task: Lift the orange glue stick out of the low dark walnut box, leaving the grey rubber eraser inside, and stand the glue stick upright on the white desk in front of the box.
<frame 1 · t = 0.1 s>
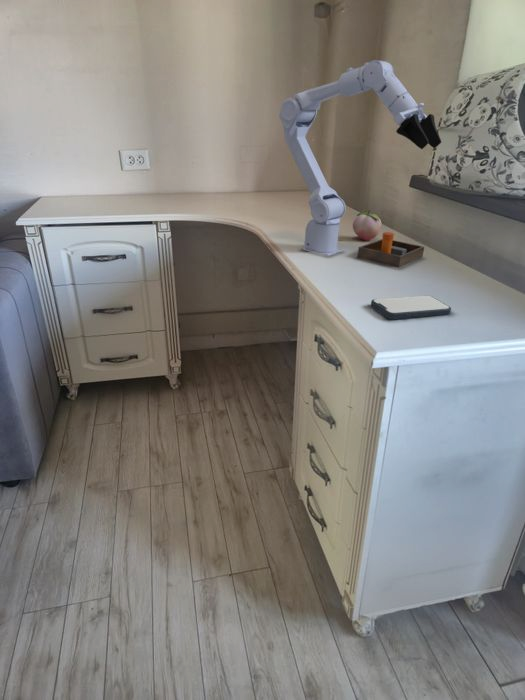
hand: (431, 145, 118), 32 cm above the table, tool tilted 50°, fingers open, 7 cm apart
decorative fruit: (365, 241, 162), on the table
phone case: (409, 310, 109), on the table
eraser: (395, 254, 146), resting on box
box: (390, 258, 144), on the table
glue stick: (384, 259, 142), resting on box
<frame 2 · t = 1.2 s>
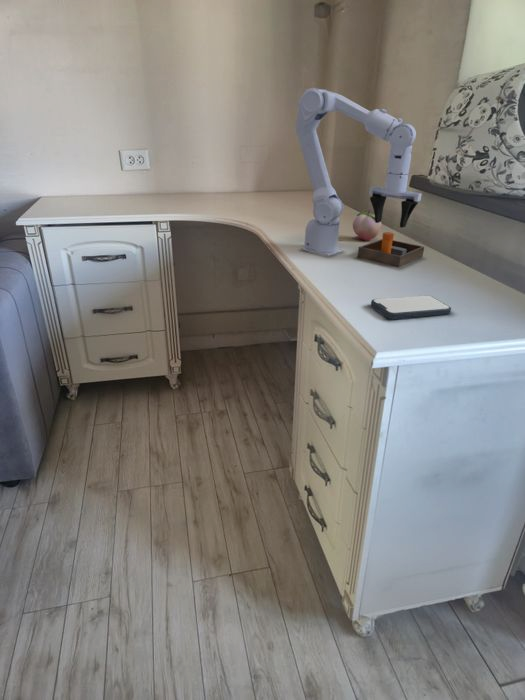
hand: (390, 224, 137), 10 cm above the table, tool pointing down, fingers open, 7 cm apart
nothing on the table moved.
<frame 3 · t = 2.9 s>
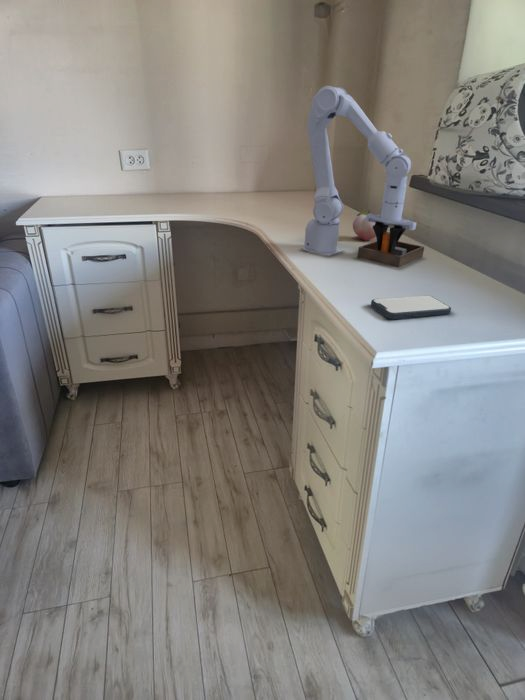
hand: (385, 250, 140), 3 cm above the table, tool pointing down, fingers closed on glue stick, 3 cm apart
glue stick: (384, 259, 142), resting on box, touching gripper
everything else where it was.
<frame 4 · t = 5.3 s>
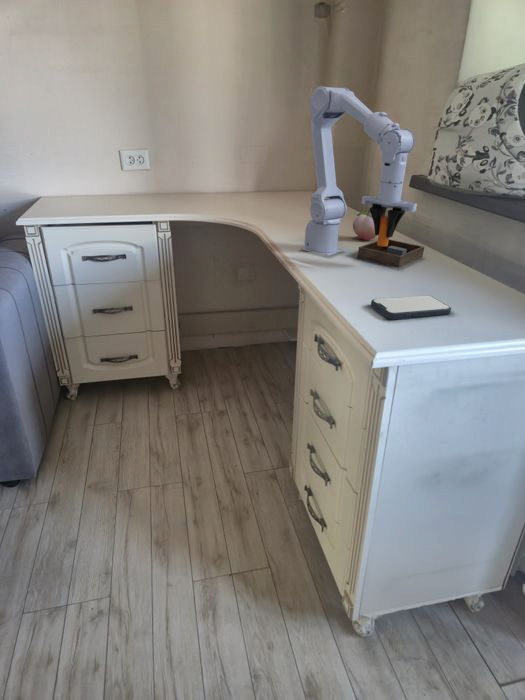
hand: (383, 235, 129), 9 cm above the table, tool pointing down, fingers closed on glue stick, 3 cm apart
glue stick: (382, 245, 131), point 7 cm above the table, touching gripper
everything else where it was.
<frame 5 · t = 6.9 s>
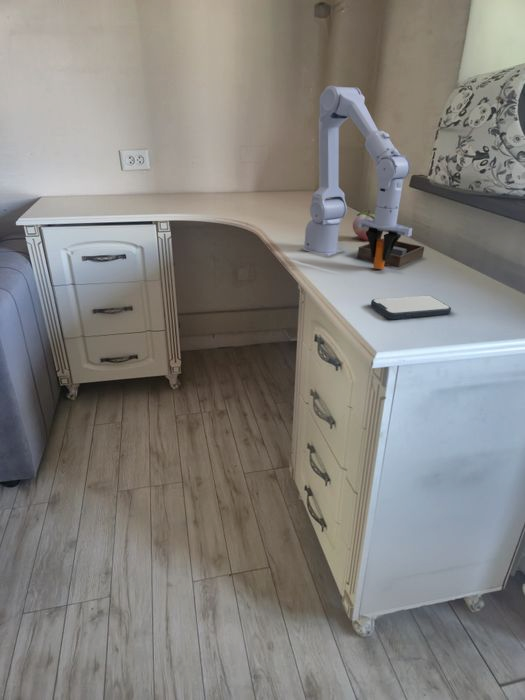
hand: (379, 258, 131), 4 cm above the table, tool pointing down, fingers closed on glue stick, 3 cm apart
glue stick: (378, 267, 133), point 1 cm above the table, touching gripper
everything else where it was.
when the fingers open (2 cm above the table, at t = 7.6 s): glue stick stays where it is, on the table.
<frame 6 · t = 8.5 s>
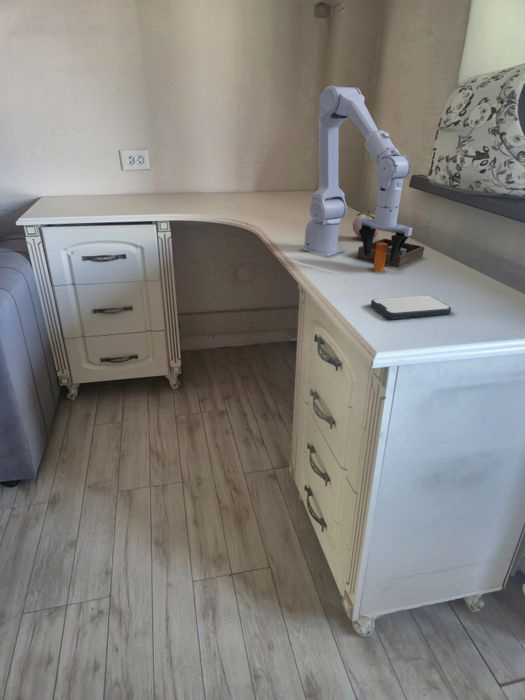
hand: (379, 257, 131), 4 cm above the table, tool pointing down, fingers open, 7 cm apart
glue stick: (378, 271, 133), on the table
everything else where it was.
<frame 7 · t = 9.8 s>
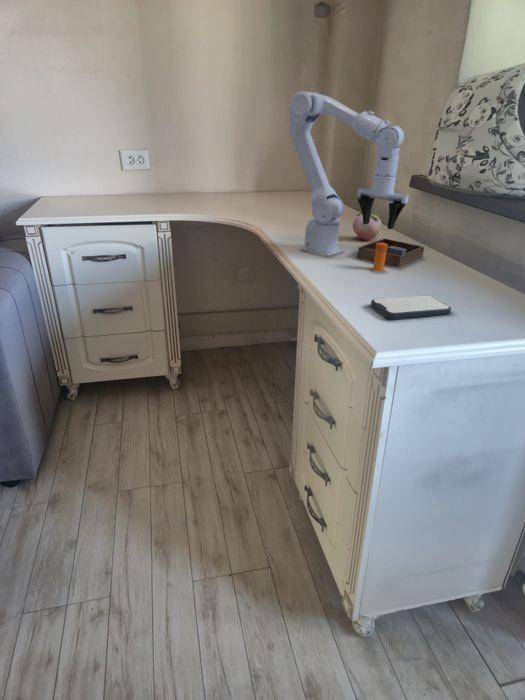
hand: (378, 226, 137), 10 cm above the table, tool pointing down, fingers open, 7 cm apart
nothing on the table moved.
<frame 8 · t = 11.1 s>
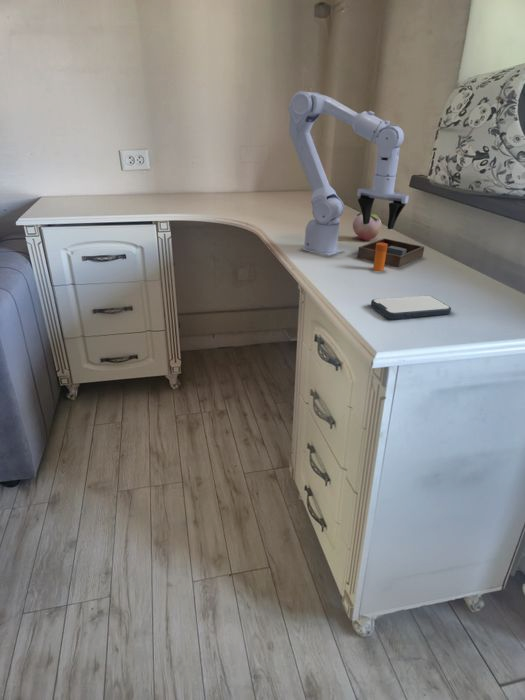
hand: (378, 226, 137), 10 cm above the table, tool pointing down, fingers open, 7 cm apart
nothing on the table moved.
at the end: glue stick inside the target area (0.0 cm from its centre), on the table; glue stick tilted 0°; eraser inside the target area in the box (3.5 cm from its centre), point 0.5 cm above the box's base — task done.
